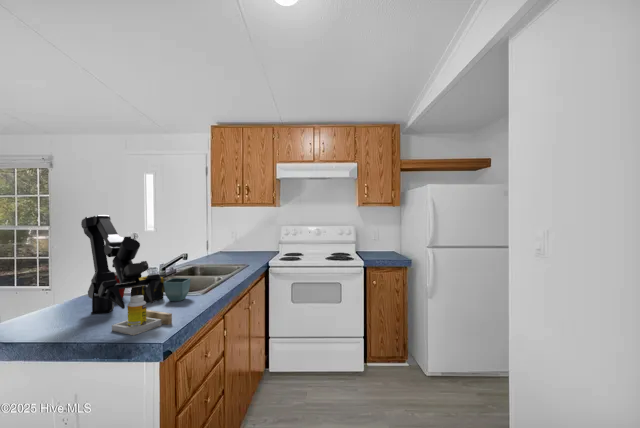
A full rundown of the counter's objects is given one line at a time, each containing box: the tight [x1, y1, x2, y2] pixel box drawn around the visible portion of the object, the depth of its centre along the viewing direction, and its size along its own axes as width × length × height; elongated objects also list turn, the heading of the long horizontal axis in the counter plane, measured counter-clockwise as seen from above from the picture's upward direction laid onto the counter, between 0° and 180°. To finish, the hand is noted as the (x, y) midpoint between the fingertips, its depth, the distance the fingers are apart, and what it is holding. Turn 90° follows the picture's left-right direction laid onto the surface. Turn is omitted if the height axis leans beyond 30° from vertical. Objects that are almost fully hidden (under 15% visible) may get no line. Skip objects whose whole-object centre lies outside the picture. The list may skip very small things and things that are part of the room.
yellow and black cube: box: [130, 275, 165, 304], centre depth 151 cm, size 10×10×10 cm
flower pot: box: [163, 277, 192, 302], centre depth 151 cm, size 9×9×9 cm
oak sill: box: [146, 309, 173, 325], centre depth 120 cm, size 14×2×4 cm, turn 67°
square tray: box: [111, 317, 162, 336], centre depth 114 cm, size 10×10×2 cm
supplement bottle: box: [127, 295, 147, 328], centre depth 114 cm, size 6×6×10 cm
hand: (138, 305), depth 113 cm, fingers open, 9 cm apart
